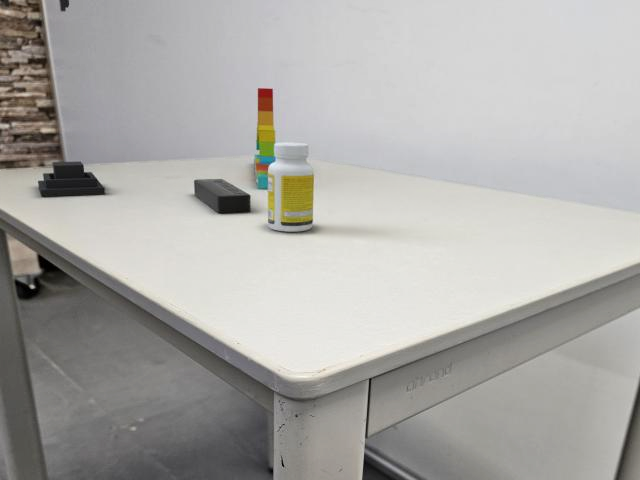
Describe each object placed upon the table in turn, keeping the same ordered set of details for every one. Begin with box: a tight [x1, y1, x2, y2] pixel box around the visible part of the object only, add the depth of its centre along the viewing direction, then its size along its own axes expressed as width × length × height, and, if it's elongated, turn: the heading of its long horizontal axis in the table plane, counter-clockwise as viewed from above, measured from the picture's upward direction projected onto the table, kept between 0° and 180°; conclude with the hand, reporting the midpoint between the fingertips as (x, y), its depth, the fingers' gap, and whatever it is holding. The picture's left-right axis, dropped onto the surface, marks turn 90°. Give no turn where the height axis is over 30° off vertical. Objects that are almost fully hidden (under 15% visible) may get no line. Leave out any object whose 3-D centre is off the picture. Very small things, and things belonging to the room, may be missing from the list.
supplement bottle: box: [267, 141, 315, 233], centre depth 75 cm, size 5×5×10 cm
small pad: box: [52, 161, 85, 179], centre depth 94 cm, size 4×4×3 cm
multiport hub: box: [193, 178, 252, 215], centre depth 89 cm, size 4×14×2 cm, turn 24°
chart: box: [253, 87, 276, 190], centre depth 113 cm, size 30×3×15 cm, turn 7°
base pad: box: [37, 171, 106, 198], centre depth 94 cm, size 9×9×2 cm
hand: (35, 9), depth 105 cm, fingers open, 8 cm apart
